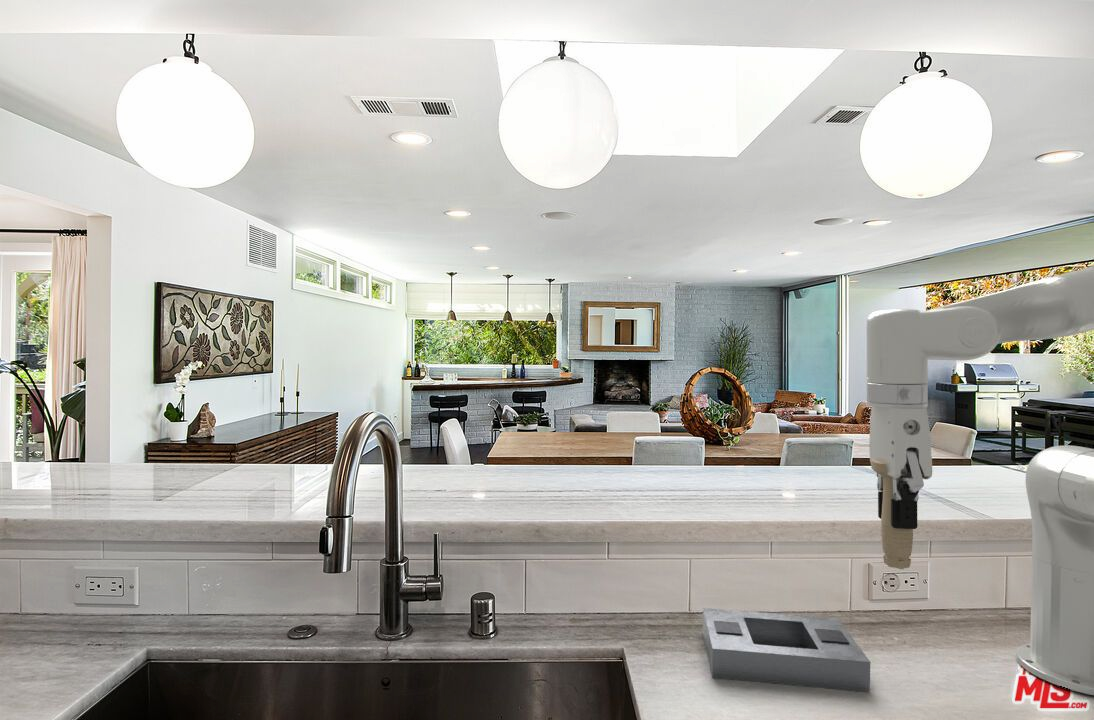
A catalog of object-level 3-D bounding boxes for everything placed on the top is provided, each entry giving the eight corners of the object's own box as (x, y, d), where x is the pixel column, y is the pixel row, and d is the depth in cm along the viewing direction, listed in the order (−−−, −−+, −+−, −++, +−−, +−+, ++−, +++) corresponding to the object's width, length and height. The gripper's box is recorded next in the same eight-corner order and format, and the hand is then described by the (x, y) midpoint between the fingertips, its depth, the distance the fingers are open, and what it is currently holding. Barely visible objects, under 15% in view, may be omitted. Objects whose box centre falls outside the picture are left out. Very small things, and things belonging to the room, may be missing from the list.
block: (837, 644, 91) (838, 616, 91) (869, 692, 78) (870, 660, 78) (702, 633, 94) (702, 606, 94) (712, 677, 81) (712, 646, 81)
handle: (929, 573, 83) (928, 465, 83) (879, 571, 84) (879, 464, 84) (913, 561, 88) (913, 459, 87) (866, 559, 88) (866, 458, 88)
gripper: (955, 400, 77) (956, 542, 77) (900, 392, 93) (900, 509, 93) (892, 400, 78) (893, 540, 78) (848, 392, 94) (849, 507, 94)
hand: (897, 522), depth 86 cm, fingers closed on handle, 3 cm apart
